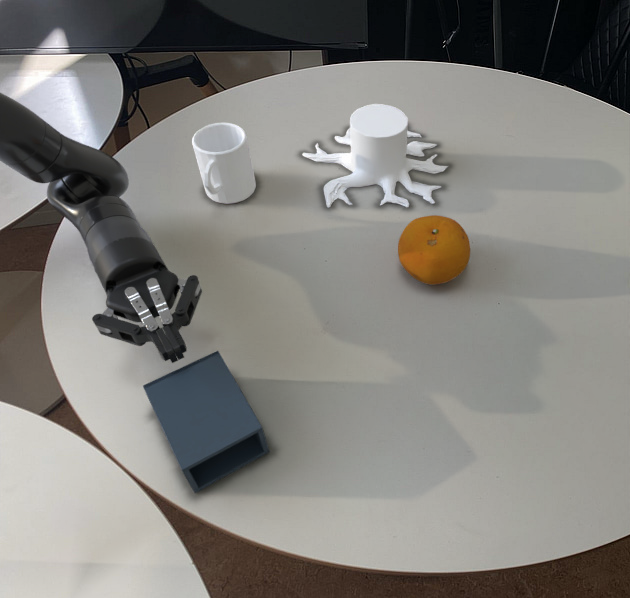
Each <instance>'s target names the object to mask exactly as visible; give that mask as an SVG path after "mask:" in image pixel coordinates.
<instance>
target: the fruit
mask: <svg viewBox="0 0 630 598" xmlns="http://www.w3.org/2000/svg"><path fill="white" fill-rule="evenodd" d="M397 255H398V259H399V262H400V264H401V266H402V267H403V269H404V270H405V271H406V273H408V274H409V276H411V278H413V279H415V280H417V281H418V282H420V283H423V284H426V285H434V286H435V285H442V284H444V283H447V282H451V281H452V280H453V279H455V278H457V277H459V276H460V275H461V274H462V273H463V272H464V271H465V269H466V268H467V266H468V264H469V261H470V257H471V243H470V238H469V236H468V234H467V232H466V231H465V229H464V227H462V225H461V224H460V223H459V222H458V221H457V220H455V219H453V218H450V217H447V216H443V215H437V214H435V215H434V214H433V215H424V216H420V217H416V218H415V219H413V220H411V221H410V222H409V223H408V224H407V225H406V226H405V227H404V228H403V231H402V232H401V234H400V237H399V239H398V244H397Z"/></svg>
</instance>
